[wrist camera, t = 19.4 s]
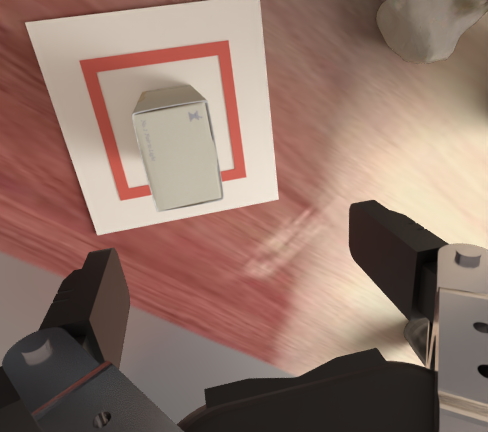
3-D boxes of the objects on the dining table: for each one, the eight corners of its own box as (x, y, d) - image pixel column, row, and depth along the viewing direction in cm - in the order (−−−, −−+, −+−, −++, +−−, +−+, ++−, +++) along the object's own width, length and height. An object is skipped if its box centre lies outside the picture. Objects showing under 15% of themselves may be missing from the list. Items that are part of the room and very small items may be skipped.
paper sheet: (258, -5, 29) (259, -6, 29) (277, 198, 36) (278, 199, 36) (26, 23, 27) (24, 22, 26) (98, 233, 34) (97, 235, 34)
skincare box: (140, 91, 30) (125, 107, 19) (193, 83, 30) (208, 94, 19) (158, 163, 32) (153, 215, 21) (206, 155, 33) (225, 201, 22)
